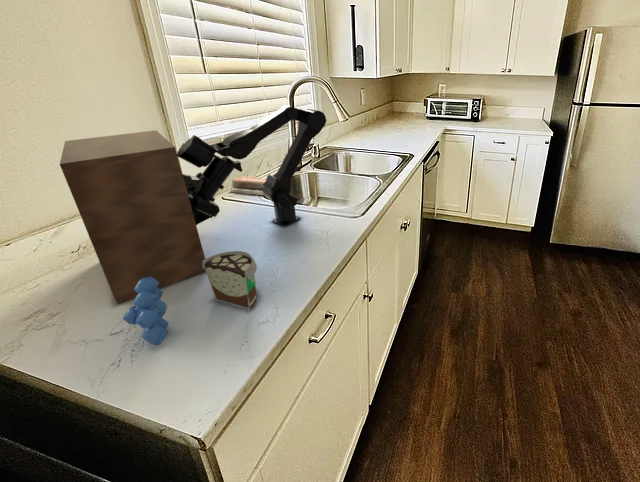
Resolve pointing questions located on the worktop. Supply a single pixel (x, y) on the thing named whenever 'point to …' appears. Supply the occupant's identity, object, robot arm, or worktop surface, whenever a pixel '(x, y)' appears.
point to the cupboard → (134, 209)
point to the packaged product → (248, 185)
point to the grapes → (148, 311)
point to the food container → (232, 278)
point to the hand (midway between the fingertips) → (178, 225)
